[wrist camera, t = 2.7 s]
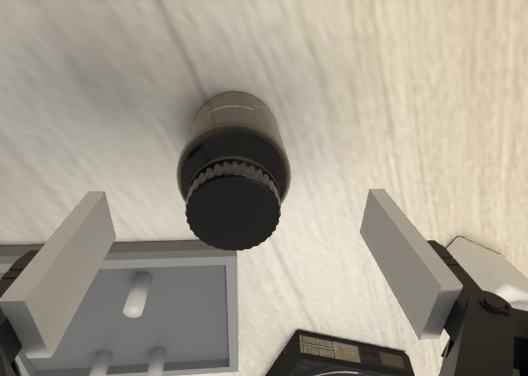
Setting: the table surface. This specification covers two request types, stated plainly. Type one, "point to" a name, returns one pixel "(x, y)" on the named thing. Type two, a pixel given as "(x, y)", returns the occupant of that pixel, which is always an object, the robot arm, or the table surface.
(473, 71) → the table surface
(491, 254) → the medicine bottle
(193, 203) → the supplement bottle
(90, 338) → the pin tray
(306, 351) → the portable cd player
